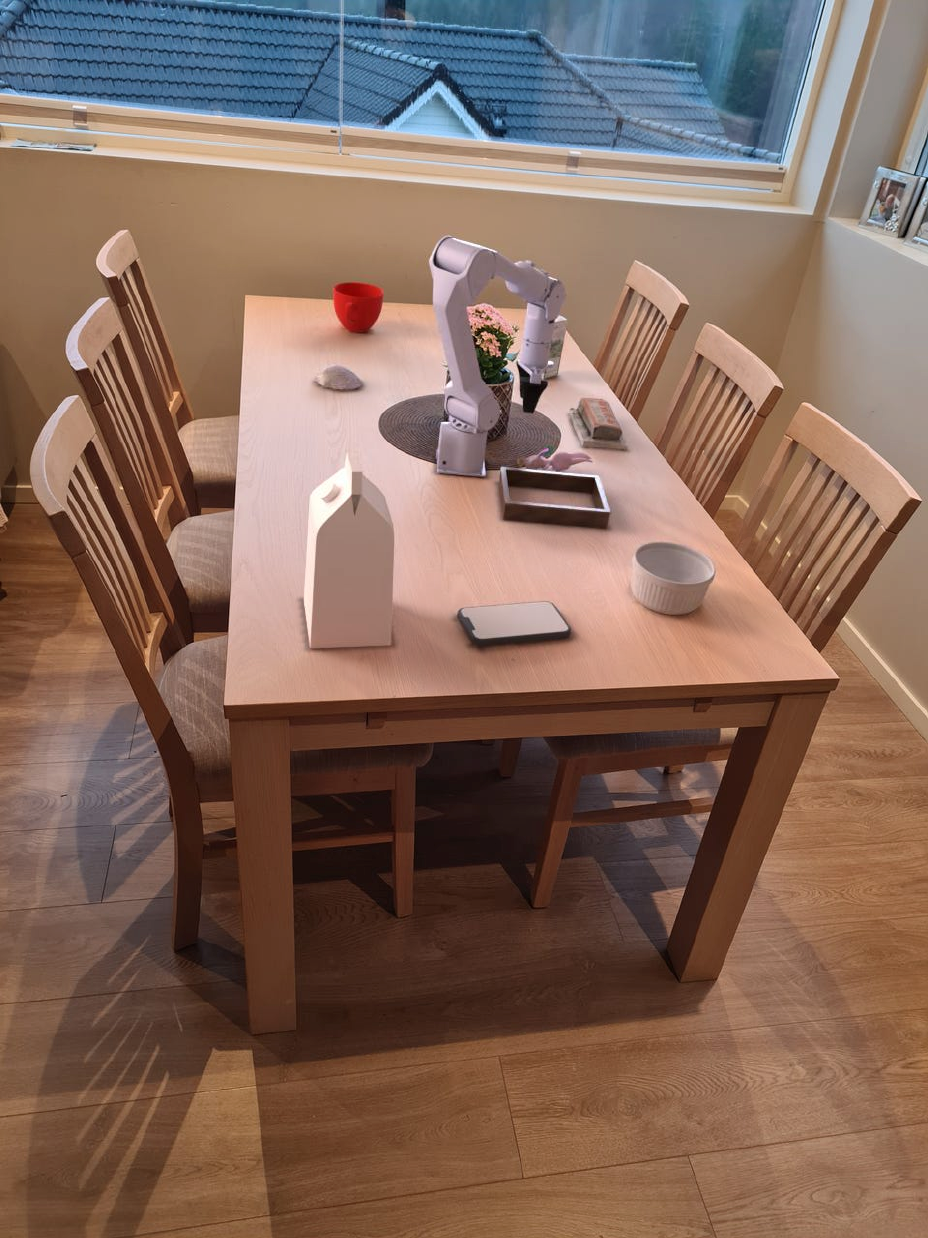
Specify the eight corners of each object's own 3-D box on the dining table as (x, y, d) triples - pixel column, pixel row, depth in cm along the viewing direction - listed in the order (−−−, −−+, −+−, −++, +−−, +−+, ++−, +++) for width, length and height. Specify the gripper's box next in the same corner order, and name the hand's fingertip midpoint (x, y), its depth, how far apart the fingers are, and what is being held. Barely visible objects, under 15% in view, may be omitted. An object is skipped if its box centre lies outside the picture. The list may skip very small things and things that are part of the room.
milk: (391, 645, 135) (404, 482, 120) (310, 648, 132) (314, 482, 117) (379, 598, 144) (390, 442, 130) (303, 600, 142) (306, 441, 127)
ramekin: (610, 581, 156) (618, 545, 152) (675, 571, 161) (685, 536, 157) (653, 626, 147) (663, 588, 143) (721, 614, 152) (732, 577, 148)
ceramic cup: (321, 335, 239) (322, 296, 233) (339, 317, 253) (340, 279, 247) (371, 344, 238) (373, 304, 233) (386, 324, 252) (388, 287, 246)
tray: (502, 520, 169) (505, 502, 167) (497, 482, 182) (500, 466, 180) (607, 529, 171) (610, 512, 169) (595, 491, 183) (599, 475, 181)
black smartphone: (549, 607, 148) (454, 615, 143) (551, 599, 147) (455, 607, 142) (572, 640, 141) (473, 650, 136) (574, 632, 140) (474, 641, 135)
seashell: (304, 369, 210) (332, 349, 216) (307, 390, 214) (335, 371, 220) (340, 381, 206) (367, 361, 212) (342, 402, 210) (369, 382, 216)
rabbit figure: (520, 481, 186) (595, 474, 187) (520, 454, 183) (596, 447, 183) (516, 467, 191) (588, 460, 192) (515, 440, 188) (589, 433, 189)
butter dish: (571, 393, 212) (614, 397, 213) (567, 414, 215) (610, 417, 216) (585, 426, 197) (631, 430, 198) (581, 447, 200) (626, 451, 201)
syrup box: (540, 368, 238) (549, 311, 229) (558, 376, 234) (568, 318, 226) (525, 372, 234) (534, 314, 226) (543, 380, 231) (553, 321, 223)
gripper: (561, 353, 178) (549, 420, 186) (553, 329, 190) (542, 393, 197) (524, 350, 177) (514, 417, 185) (518, 325, 189) (509, 390, 197)
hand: (526, 404), depth 191 cm, fingers open, 7 cm apart
